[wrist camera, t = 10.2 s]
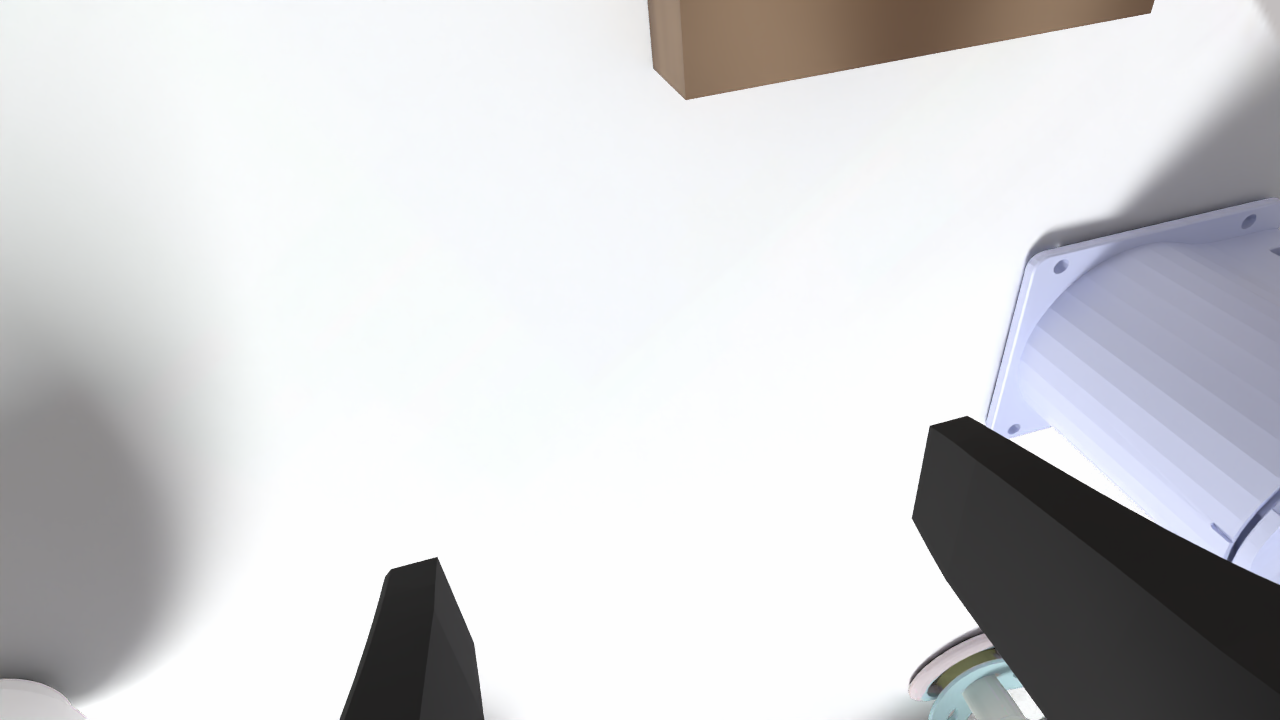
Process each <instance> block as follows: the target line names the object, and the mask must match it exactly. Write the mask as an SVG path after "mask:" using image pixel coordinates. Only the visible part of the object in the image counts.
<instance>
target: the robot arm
mask: <svg viewBox="0 0 1280 720" xmlns="http://www.w3.org/2000/svg"><path fill="white" fill-rule="evenodd" d="M1279 226H1280V199H1278V198H1276V197H1271V198H1267V199H1262V200H1258V201H1254V202H1250V203H1245V204H1241V205H1237V206H1233V207H1228V208H1224V209H1220V210H1216V211H1211V212H1207V213H1203V214H1199V215H1194V216H1190V217H1186V218H1181V219H1177V220H1173V221H1169V222H1164V223H1160V224H1156V225H1152V226H1147V227H1143V228H1139V229H1135V230H1130V231H1126V232H1122V233H1118V234H1113V235H1109V236H1105V237H1100V238H1096V239H1092V240H1088V241H1083V242H1079V243H1075V244H1071V245H1066V246H1062V247H1058V248H1054V249H1049V250H1045V251H1042V252H1039V253H1037V254H1036V255H1034V256H1033V257H1032V258H1031V259H1030V260H1029V262H1028V264H1027V266H1026V269H1025V273H1024V277H1023V281H1022V285H1021V289H1020V292H1019V296H1018V300H1017V304H1016V308H1015V312H1014V316H1013V320H1012V324H1011V328H1010V332H1009V335H1008V339H1007V343H1006V347H1005V351H1004V355H1003V359H1002V363H1001V367H1000V371H999V375H998V378H997V382H996V386H995V390H994V394H993V398H992V402H991V406H990V410H989V414H988V418H987V421H986V425H983V424H981V423H979V422H977V421H976V420H974V419H972V418H970V417H968V416H965V417H961V418H958V419H954V420H950V421H946V422H943V423H939V424H935V425H931V426H930V428H929V433H928V438H927V443H926V448H925V453H924V459H923V464H922V469H921V474H920V479H919V484H918V490H917V495H916V500H915V505H914V510H913V515H912V519H913V521H914V523H915V525H916V527H917V529H918V531H919V532H920V534H921V536H922V538H923V540H924V542H925V544H926V546H927V547H928V549H929V551H930V553H931V555H932V556H933V558H934V560H935V562H936V563H937V565H938V567H939V569H940V570H941V572H942V574H943V576H944V577H945V579H946V581H947V582H948V583H949V585H950V586H951V588H952V589H953V591H954V592H955V593H956V595H957V596H958V598H959V599H960V600H961V602H962V603H963V605H964V606H965V607H966V609H967V610H968V611H969V613H970V614H971V616H972V617H973V618H974V620H975V621H976V623H977V624H978V625H979V627H980V628H981V629H982V631H983V632H984V634H985V635H986V636H987V638H988V639H989V640H990V642H991V643H992V644H993V646H994V647H995V649H996V650H997V651H998V653H999V654H1000V655H1001V657H1002V658H1003V660H1004V661H1005V662H1006V664H1007V665H1008V666H1009V668H1010V669H1011V670H1012V672H1013V673H1014V675H1015V676H1016V677H1017V679H1018V680H1019V681H1020V683H1021V684H1022V685H1023V687H1024V688H1025V690H1026V691H1027V692H1028V694H1029V695H1030V696H1031V698H1032V699H1033V701H1034V702H1035V703H1036V705H1037V706H1038V707H1039V709H1040V710H1041V711H1042V713H1043V714H1044V716H1045V717H1046V719H1047V720H1280V229H1278V228H1279ZM1049 427H1053V428H1054V429H1055V430H1056V431H1057V432H1058V433H1059V434H1060V435H1061V436H1063V437H1064V438H1065V439H1066V440H1067V441H1068V442H1069V443H1070V444H1071V445H1072V446H1073V447H1074V448H1075V449H1077V450H1078V451H1079V452H1080V453H1081V454H1082V455H1083V456H1084V457H1085V458H1086V459H1087V460H1088V461H1089V462H1091V463H1092V464H1093V465H1094V466H1095V467H1096V468H1097V469H1098V470H1099V471H1100V472H1101V473H1102V474H1103V475H1105V476H1106V477H1107V478H1108V479H1109V480H1110V481H1111V482H1112V483H1113V484H1114V485H1115V486H1116V487H1117V488H1119V489H1120V490H1121V491H1122V492H1123V493H1124V494H1125V495H1126V496H1127V497H1128V498H1129V499H1130V500H1131V501H1133V502H1134V503H1135V504H1136V505H1137V506H1138V507H1139V508H1140V509H1141V510H1142V511H1143V512H1144V513H1145V514H1147V515H1148V516H1149V517H1150V518H1151V519H1152V520H1153V521H1154V522H1155V523H1154V522H1152V521H1150V520H1148V519H1146V518H1144V517H1143V516H1141V515H1139V514H1137V513H1135V512H1133V511H1132V510H1130V509H1128V508H1126V507H1124V506H1123V505H1121V504H1119V503H1117V502H1115V501H1114V500H1112V499H1110V498H1108V497H1107V496H1105V495H1103V494H1101V493H1099V492H1098V491H1096V490H1094V489H1092V488H1091V487H1089V486H1087V485H1085V484H1084V483H1082V482H1080V481H1079V480H1077V479H1075V478H1073V477H1072V476H1070V475H1068V474H1066V473H1065V472H1063V471H1061V470H1060V469H1058V468H1056V467H1055V466H1053V465H1051V464H1049V463H1048V462H1046V461H1044V460H1043V459H1041V458H1039V457H1038V456H1036V455H1034V454H1032V453H1031V452H1029V451H1027V450H1026V449H1024V448H1022V447H1021V446H1019V445H1017V444H1015V443H1014V442H1012V441H1010V440H1009V438H1013V437H1016V436H1020V435H1024V434H1027V433H1031V432H1035V431H1038V430H1042V429H1046V428H1049ZM340 720H484V715H483V707H482V699H481V691H480V683H479V676H478V669H477V662H476V655H475V647H474V642H473V640H472V637H471V635H470V633H469V630H468V628H467V626H466V623H465V621H464V619H463V616H462V614H461V612H460V609H459V607H458V605H457V602H456V600H455V597H454V595H453V593H452V590H451V588H450V586H449V583H448V581H447V579H446V576H445V574H444V572H443V569H442V567H441V565H440V562H439V560H438V557H436V558H432V559H428V560H424V561H421V562H417V563H413V564H409V565H406V566H402V567H398V568H394V569H391V570H390V571H389V573H388V574H387V575H386V577H385V579H384V583H383V587H382V591H381V595H380V598H379V602H378V606H377V609H376V613H375V616H374V619H373V623H372V626H371V629H370V633H369V636H368V639H367V642H366V645H365V649H364V652H363V655H362V658H361V661H360V664H359V667H358V670H357V673H356V676H355V679H354V682H353V684H352V687H351V690H350V693H349V695H348V698H347V701H346V703H345V706H344V709H343V712H342V714H341V717H340Z"/></svg>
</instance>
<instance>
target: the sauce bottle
mask: <svg viewBox="0 0 1280 720" xmlns="http://www.w3.org/2000/svg"><path fill="white" fill-rule="evenodd" d="M0 720H89V719H88V718H87V717H86V716H85V715H83V714H82V713H81V712H80V711H79V710H77V709H76V708H74V707H72V705H71V703H70V702H69V700H68V699H67V698H66V697H65V696H64V695H63V694H61V693H60V692H59V691H57V690H55V689H53V688H52V687H49V686H47V685H44V684H42V683H38V682H34V681H30V680H23V679H0Z"/></svg>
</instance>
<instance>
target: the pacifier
mask: <svg viewBox="0 0 1280 720" xmlns="http://www.w3.org/2000/svg"><path fill="white" fill-rule="evenodd" d="M990 648H995V647H994V646H993V644H992V643H991V642H990V640H989V639H988V638H987V636H986V635H985V634H981V635H978V636H975V637H973V638H970V639H968V640H966V641H964V642H962V643H960V644H958V645H956V646H954V647H952V648H951V649H949V650H947V651H946V652H944V653H943V654H941V655H940V656H938V657H937V658H935V659H934V660H933V661H931V662H930V663H929V664H928V665H926V666H925V667H924V668H923V669H922V670H921V671H920V672H919V673H918V674H917V675H916V677H915V678H914V679H913V681H912V682H911V684H910V687H909V690H908V693H909V695H910V697H911V698H912V699H914V700H917V701H930V700H935V699H936V701H935V702H934V704H933V706H932V708H931V711H930V714H929V717H928V720H967V719H968V717H969V716H970V715H971V713H973V715H974V716H975V718H976V720H1029V719H1027V718H1025V716H1024V715H1023V713H1022V712H1021V710H1020V709H1019V707H1018V706H1017V704H1016V703H1015V702H1014V700H1013V699H1012V697H1011V696H1010V695H1009V693H1008V692H1007V690H1009V689H1016V688H1022V687H1023V685H1022V684H1021V683H1020V681H1019V680H1018V679H1017V677H1016V676H1015V675H1014V673H1013V672H1012V670H1011V669H1010V668H1009V666H1008V665H1007V664H1006V662H1005V661H1004V660H1003V658H1002V657H1001V655H1000V654H999V653H998V651H997V650H994V649H990ZM987 649H989V650H987ZM959 661H960V662H959ZM957 662H958V663H957ZM954 664H955V665H954ZM951 666H952V667H951ZM950 667H951V668H950ZM948 668H949V669H948ZM947 669H948V670H947ZM946 670H947V671H946ZM945 671H946V672H945ZM943 672H944V673H943ZM942 673H943V674H942ZM941 674H942V675H941ZM940 675H941V676H940ZM939 676H940V678H939V679H938V681H937V685H934V686H930V685H931V684H932V683H933V682H934V681H935V680H936V679H937V678H938V677H939ZM954 709H955V711H954V713H953V714H952V716H951V717H950V718H948V716H949V714H950V713H951V711H953V710H954ZM947 718H948V719H947Z"/></svg>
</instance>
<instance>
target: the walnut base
mask: <svg viewBox="0 0 1280 720" xmlns="http://www.w3.org/2000/svg"><path fill="white" fill-rule="evenodd" d="M1153 3H1154V0H648V11H649V23H650V35H651V47H652V58H653V69H654V70H655V71H657V72H658V73H659V74H660V75H661V76H662V77H663V78H664V79H665V80H666V81H667V82H668V83H669V84H670V85H671V86H672V87H673V88H674V89H675V90H676V91H677V92H678V93H679V94H680V95H681V96H682V97H683V98H684V99H685V100H688V99H694V98H699V97H704V96H710V95H715V94H721V93H726V92H731V91H737V90H742V89H747V88H753V87H758V86H763V85H769V84H774V83H779V82H785V81H790V80H795V79H801V78H806V77H812V76H817V75H822V74H828V73H833V72H838V71H844V70H849V69H854V68H860V67H865V66H870V65H876V64H881V63H886V62H892V61H897V60H902V59H908V58H913V57H919V56H924V55H929V54H935V53H940V52H945V51H951V50H956V49H961V48H967V47H972V46H977V45H983V44H988V43H993V42H999V41H1004V40H1009V39H1015V38H1020V37H1026V36H1031V35H1036V34H1042V33H1047V32H1052V31H1058V30H1063V29H1068V28H1074V27H1079V26H1084V25H1090V24H1095V23H1100V22H1106V21H1111V20H1116V19H1122V18H1127V17H1133V16H1138V15H1143V14H1149V13H1151V10H1152V7H1153Z"/></svg>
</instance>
